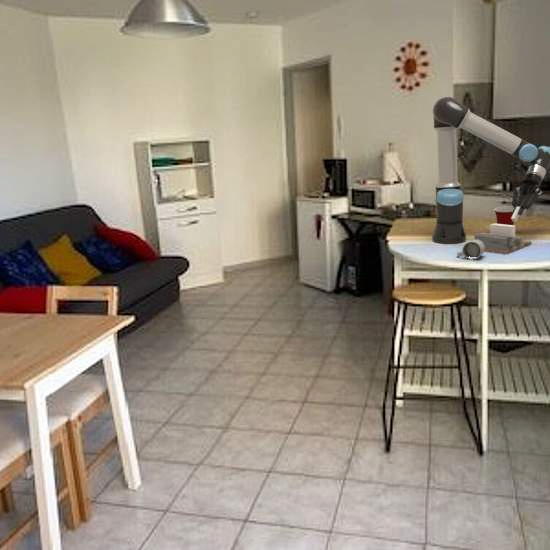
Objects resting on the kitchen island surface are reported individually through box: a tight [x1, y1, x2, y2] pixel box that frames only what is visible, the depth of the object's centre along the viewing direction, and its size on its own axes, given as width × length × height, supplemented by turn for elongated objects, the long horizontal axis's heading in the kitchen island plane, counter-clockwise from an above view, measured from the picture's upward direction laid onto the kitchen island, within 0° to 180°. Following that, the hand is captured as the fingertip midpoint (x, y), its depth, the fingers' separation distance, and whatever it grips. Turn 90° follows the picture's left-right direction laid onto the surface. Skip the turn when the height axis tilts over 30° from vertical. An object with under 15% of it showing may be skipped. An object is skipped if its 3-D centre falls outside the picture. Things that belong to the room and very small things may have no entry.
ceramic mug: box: [456, 239, 485, 260], centre depth 235 cm, size 11×8×8 cm
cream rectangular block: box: [489, 222, 517, 239], centre depth 248 cm, size 3×10×8 cm, turn 41°
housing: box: [473, 232, 532, 255], centre depth 248 cm, size 22×16×6 cm
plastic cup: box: [493, 205, 515, 226], centre depth 274 cm, size 11×11×12 cm
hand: (513, 220), depth 253 cm, fingers closed
